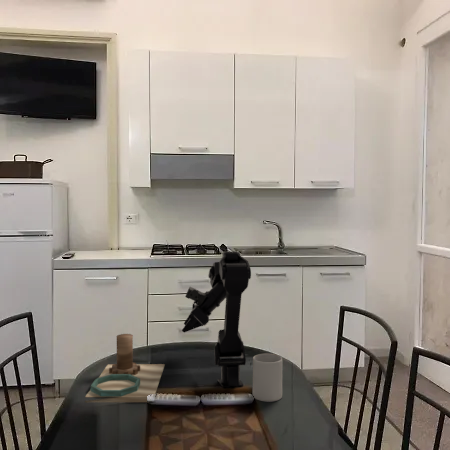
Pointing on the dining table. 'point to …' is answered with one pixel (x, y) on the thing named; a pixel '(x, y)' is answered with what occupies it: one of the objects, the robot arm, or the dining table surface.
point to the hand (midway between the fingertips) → (183, 327)
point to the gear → (124, 356)
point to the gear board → (127, 384)
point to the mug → (267, 377)
